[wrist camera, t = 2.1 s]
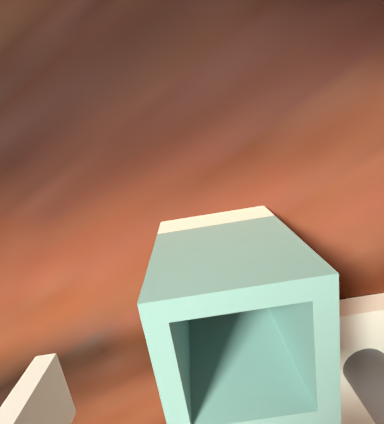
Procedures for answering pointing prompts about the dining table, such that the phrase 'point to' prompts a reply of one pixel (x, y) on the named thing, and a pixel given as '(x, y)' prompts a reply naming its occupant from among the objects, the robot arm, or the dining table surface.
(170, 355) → the sleeve
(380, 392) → the pinboard
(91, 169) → the dining table surface
